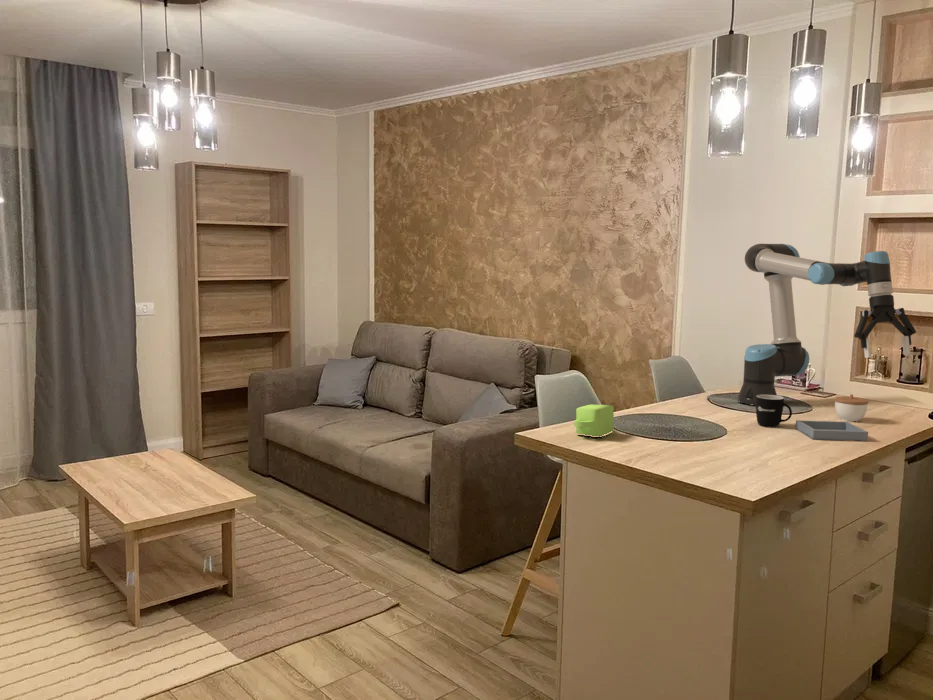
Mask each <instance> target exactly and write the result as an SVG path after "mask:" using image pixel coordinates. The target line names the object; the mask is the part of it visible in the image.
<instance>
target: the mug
mask: <svg viewBox="0 0 933 700" xmlns="http://www.w3.org/2000/svg"><path fill="white" fill-rule="evenodd" d="M784 407H786V408H787V410H788V411H789V415H788V416H787V418H785V419H782V416H783V412H784ZM792 410H793V409H792V408H791V406H790V405H789V404H787V403H786V402H785V397H783V396H781V395H777V396H776V395H757V396H756V406H755V412H756V413H755V414H756V420H757V424H758V426H760V427H765V428H777V427H779V425H780V424H781V423H784V422H787V421H789V420H790V419H791V417H792V416H793V411H792Z"/></svg>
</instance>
